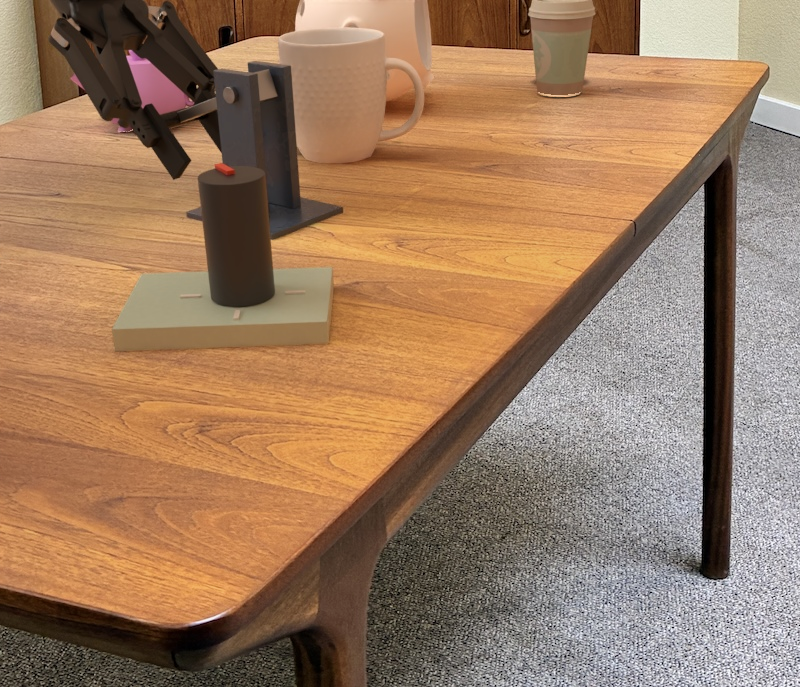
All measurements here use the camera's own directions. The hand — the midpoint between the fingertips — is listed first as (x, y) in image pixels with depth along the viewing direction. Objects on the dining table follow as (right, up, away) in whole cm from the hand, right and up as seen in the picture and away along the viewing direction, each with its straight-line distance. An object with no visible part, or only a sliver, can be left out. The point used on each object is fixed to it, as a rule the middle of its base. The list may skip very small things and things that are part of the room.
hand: (210, 161), depth 102 cm
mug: (+12, +3, +16) cm, 20 cm away
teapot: (-14, +10, +33) cm, 38 cm away
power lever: (+2, +4, -3) cm, 5 cm away
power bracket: (+5, -6, -2) cm, 8 cm away
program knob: (+7, -13, -26) cm, 30 cm away
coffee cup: (+38, +16, +43) cm, 60 cm away
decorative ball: (+14, +13, +39) cm, 43 cm away
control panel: (+6, -16, -25) cm, 30 cm away
